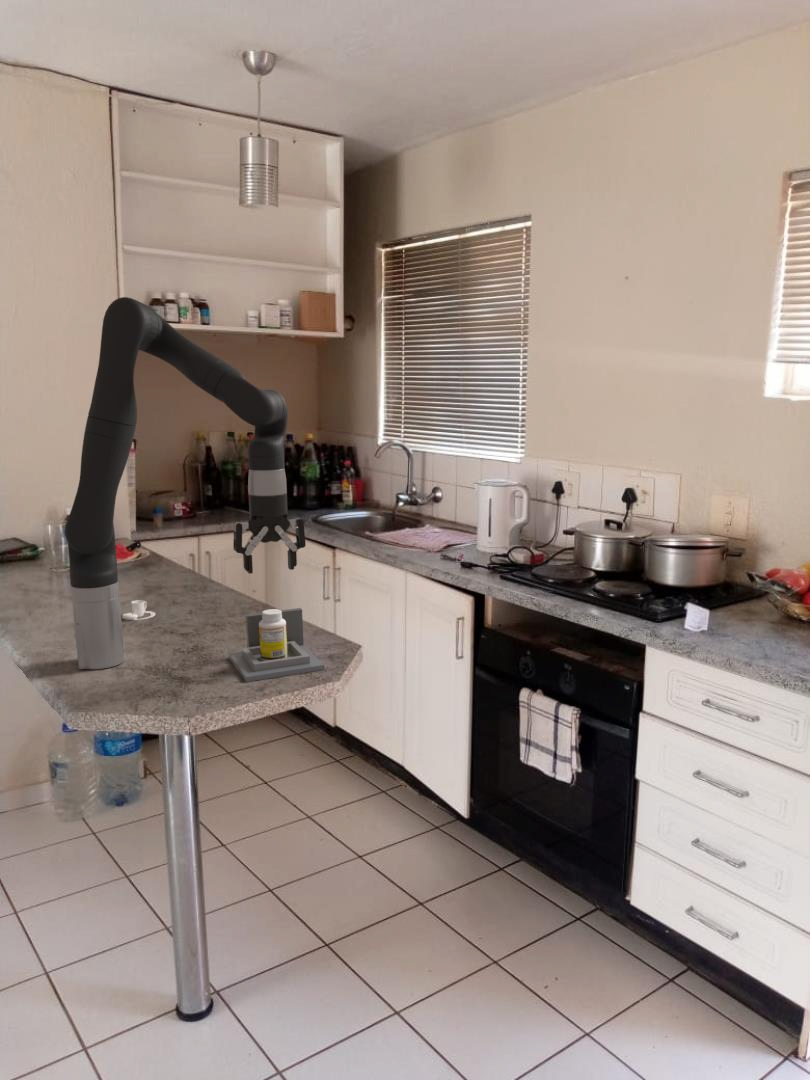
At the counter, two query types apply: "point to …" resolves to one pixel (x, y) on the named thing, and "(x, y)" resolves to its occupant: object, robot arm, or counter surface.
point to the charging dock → (293, 664)
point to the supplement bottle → (272, 635)
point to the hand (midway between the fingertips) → (270, 570)
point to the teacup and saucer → (137, 611)
